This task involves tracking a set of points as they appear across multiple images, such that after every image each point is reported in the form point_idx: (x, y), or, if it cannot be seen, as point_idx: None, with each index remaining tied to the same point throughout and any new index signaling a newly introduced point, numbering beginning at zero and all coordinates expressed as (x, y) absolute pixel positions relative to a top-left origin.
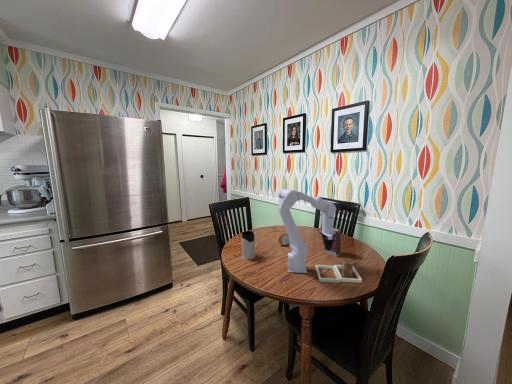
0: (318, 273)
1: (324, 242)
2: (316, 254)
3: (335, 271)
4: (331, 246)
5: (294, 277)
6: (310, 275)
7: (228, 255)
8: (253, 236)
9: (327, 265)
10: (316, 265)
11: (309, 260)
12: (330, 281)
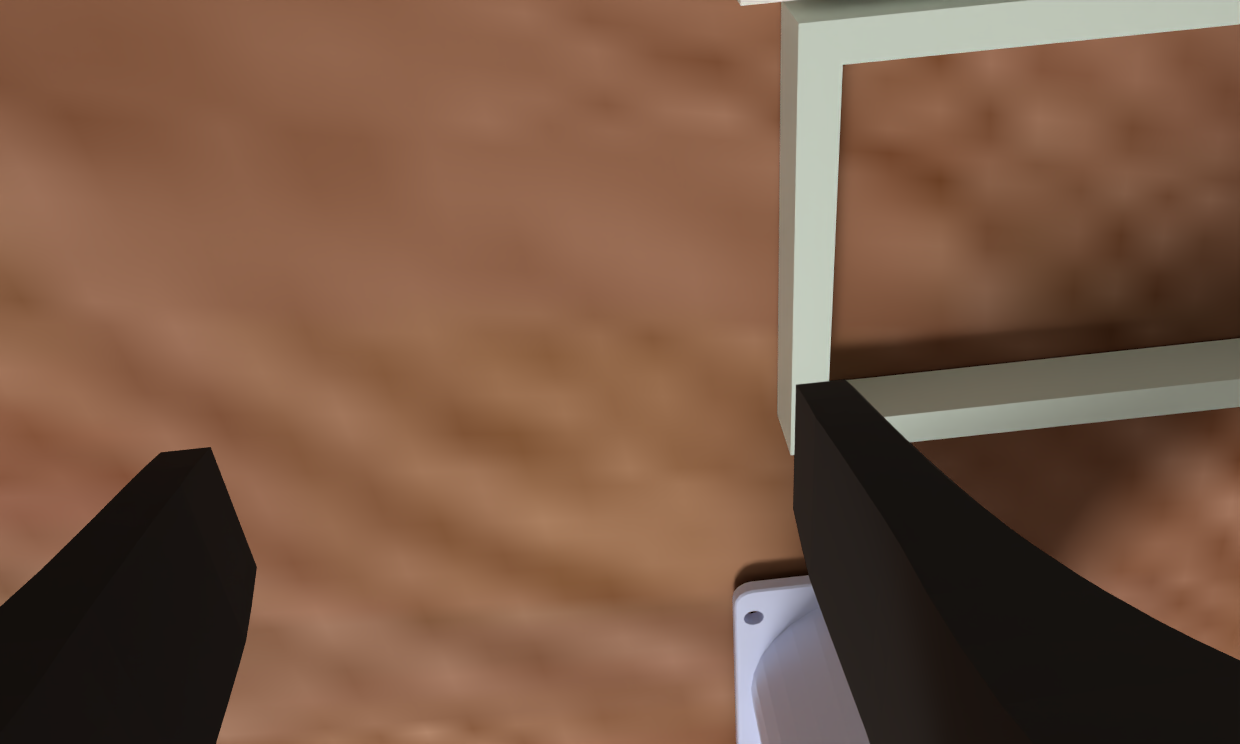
0: (1184, 403)
1: (216, 648)
2: (16, 390)
3: (1140, 22)
4: (966, 496)
5: None
6: (1103, 489)
7: None
8: None
9: (797, 200)
10: None
11: (449, 522)
12: None
